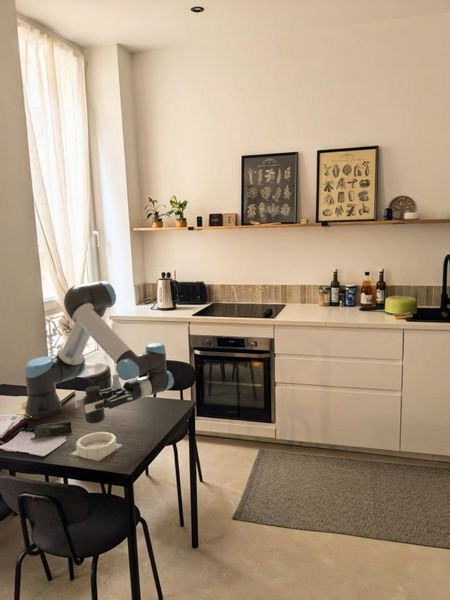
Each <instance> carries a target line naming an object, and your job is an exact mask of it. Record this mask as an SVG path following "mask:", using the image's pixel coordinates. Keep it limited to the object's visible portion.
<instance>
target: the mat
mask: <svg viewBox="0 0 450 600" xmlns="http://www.w3.org/2000/svg"><path fill="white" fill-rule="evenodd" d="M122 446H123V444H121V443H118V442H116V449H115V451H116V450H117V449H119V448H121V447H122ZM70 455H73V456H77V457H80V456H79V455H78V453H77V449H76V450H74V451H72V452H71V453H70ZM105 457H107V456H103V457H100V458H90V459H89V460H92V461H97V462H100V461H101V460H103V459H104V458H105Z"/></svg>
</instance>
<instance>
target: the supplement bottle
mask: <svg viewBox="0 0 450 600" xmlns="http://www.w3.org/2000/svg"><path fill="white" fill-rule="evenodd" d="M84 390H85V396H83V397H84V406H83V407H84V411H85V405H87V404H91V403H94V402H97V401H100V400H103V395H102V394H100V390H101V389H100V386H98V385H92V386H88V387H86V388H85V389H84ZM103 402H104V400H103ZM84 416H85V417H84V418H85V421H86V423H88V424H98V423H102V422H103V421H104V420H105V418H106V412H105V408H101V409H98V410H95V411H92V412H89V413H85V412H84Z"/></svg>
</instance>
